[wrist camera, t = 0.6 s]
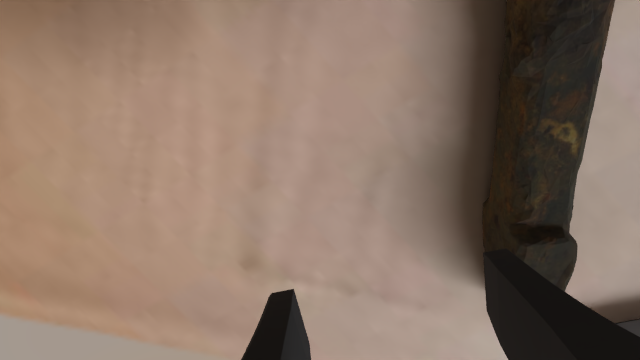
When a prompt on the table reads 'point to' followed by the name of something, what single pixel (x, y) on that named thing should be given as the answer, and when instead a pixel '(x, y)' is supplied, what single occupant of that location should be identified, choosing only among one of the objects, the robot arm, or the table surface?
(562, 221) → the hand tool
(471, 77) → the table surface
